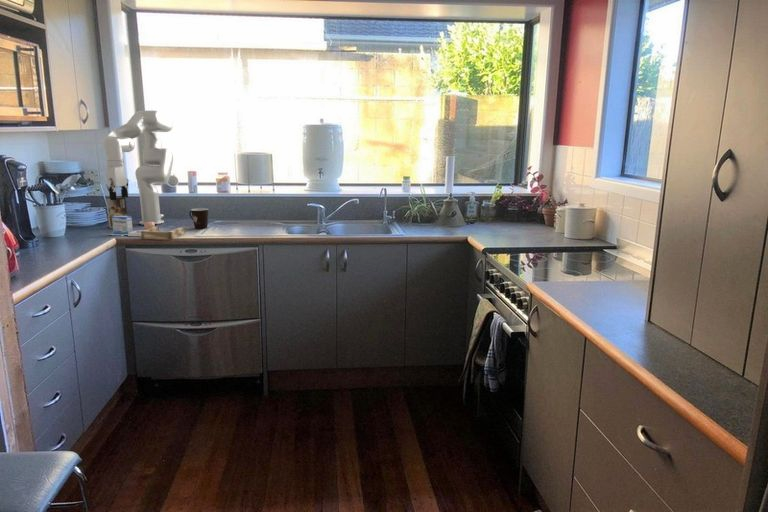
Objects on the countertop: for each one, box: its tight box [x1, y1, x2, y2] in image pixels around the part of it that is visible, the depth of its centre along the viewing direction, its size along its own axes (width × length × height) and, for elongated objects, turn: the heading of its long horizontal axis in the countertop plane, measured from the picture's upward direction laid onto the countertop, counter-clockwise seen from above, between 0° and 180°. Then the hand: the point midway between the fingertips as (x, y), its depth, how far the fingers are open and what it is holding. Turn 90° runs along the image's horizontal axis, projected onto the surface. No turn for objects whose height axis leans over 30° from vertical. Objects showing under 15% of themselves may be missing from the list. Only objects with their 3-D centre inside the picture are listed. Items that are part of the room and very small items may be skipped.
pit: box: [128, 229, 143, 237], centre depth 277 cm, size 7×7×2 cm
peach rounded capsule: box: [143, 222, 156, 230], centre depth 285 cm, size 5×5×5 cm
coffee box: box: [104, 195, 129, 229], centre depth 297 cm, size 9×6×16 cm
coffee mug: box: [188, 207, 209, 230], centre depth 296 cm, size 12×9×10 cm
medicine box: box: [112, 215, 134, 234], centre depth 279 cm, size 8×4×9 cm, turn 84°
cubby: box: [140, 226, 185, 241], centre depth 274 cm, size 14×15×4 cm
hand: (119, 198), depth 276 cm, fingers open, 9 cm apart
